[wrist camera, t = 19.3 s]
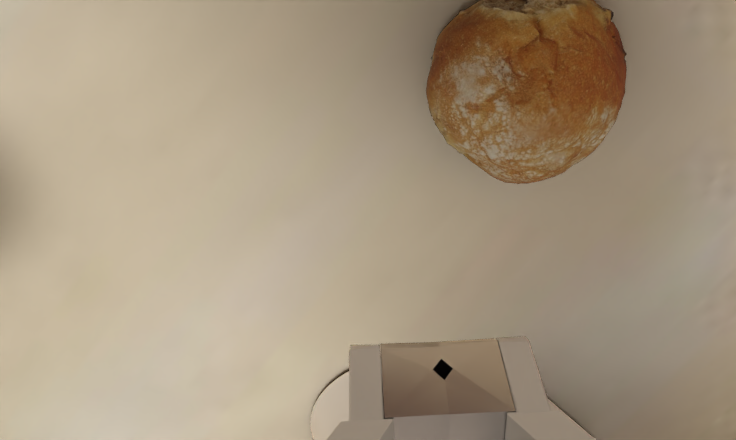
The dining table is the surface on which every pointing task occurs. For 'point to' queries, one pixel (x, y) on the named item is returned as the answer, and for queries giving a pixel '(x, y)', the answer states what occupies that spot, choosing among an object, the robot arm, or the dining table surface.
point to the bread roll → (527, 84)
